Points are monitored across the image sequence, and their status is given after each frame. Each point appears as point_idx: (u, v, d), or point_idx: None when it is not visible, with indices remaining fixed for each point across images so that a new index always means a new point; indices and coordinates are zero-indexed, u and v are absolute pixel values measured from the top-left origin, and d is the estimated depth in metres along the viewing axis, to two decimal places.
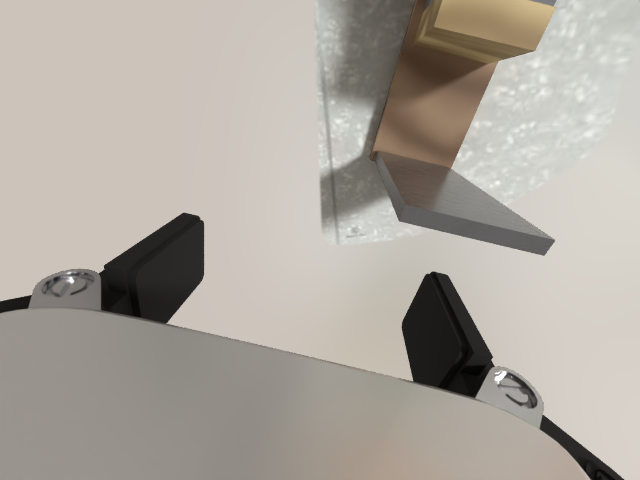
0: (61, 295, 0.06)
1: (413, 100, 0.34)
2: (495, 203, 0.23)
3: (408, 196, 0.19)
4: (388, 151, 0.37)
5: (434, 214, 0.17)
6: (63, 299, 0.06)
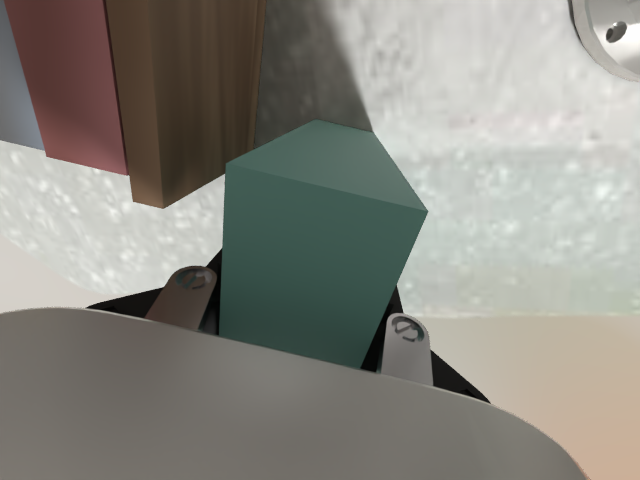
0: (186, 286, 0.07)
1: None
2: None
3: None
4: None
5: None
6: (185, 291, 0.07)
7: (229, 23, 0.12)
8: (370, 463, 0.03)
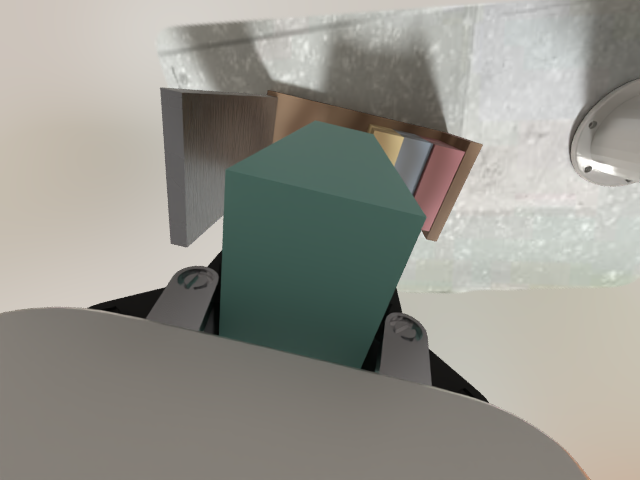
0: (188, 287, 0.07)
1: None
2: None
3: (201, 104, 0.17)
4: (278, 111, 0.35)
5: (180, 130, 0.16)
6: (186, 291, 0.07)
7: None
8: (370, 463, 0.03)
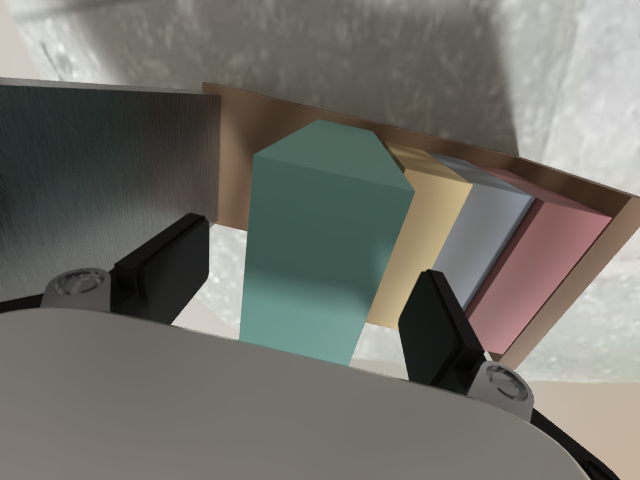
0: (72, 293, 0.06)
1: None
2: None
3: None
4: (224, 119, 0.20)
5: None
6: (74, 297, 0.06)
7: None
8: (370, 463, 0.03)
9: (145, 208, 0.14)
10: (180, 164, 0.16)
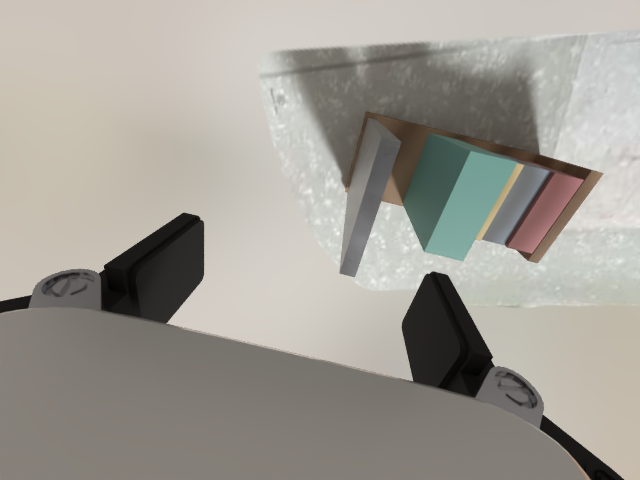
0: (61, 295, 0.06)
1: (418, 151, 0.36)
2: None
3: None
4: None
5: (387, 175, 0.17)
6: (63, 299, 0.06)
7: None
8: (370, 463, 0.03)
9: None
10: None
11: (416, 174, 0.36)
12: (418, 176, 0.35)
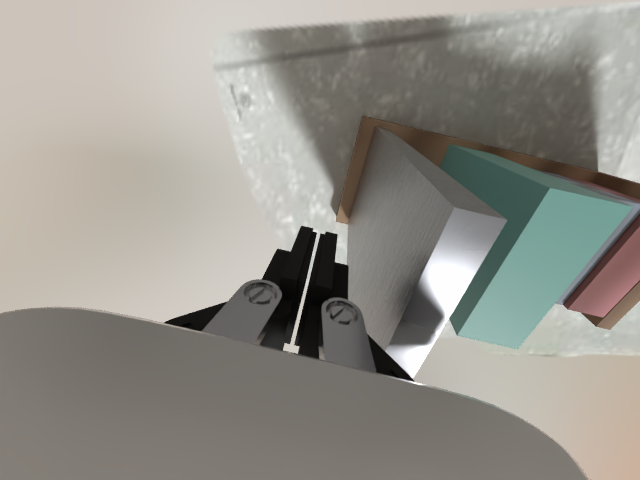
0: (252, 299, 0.07)
1: None
2: None
3: None
4: None
5: (458, 289, 0.07)
6: (249, 304, 0.07)
7: None
8: (370, 463, 0.03)
9: None
10: None
11: None
12: None
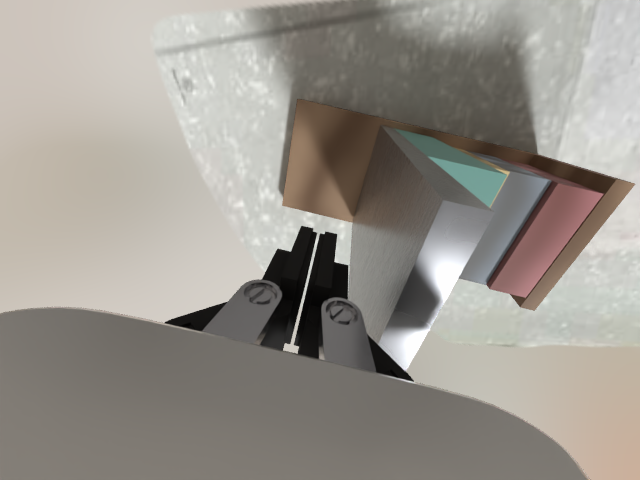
0: (252, 299, 0.07)
1: (371, 152, 0.27)
2: None
3: None
4: (310, 126, 0.26)
5: (449, 281, 0.07)
6: (249, 304, 0.07)
7: None
8: (370, 463, 0.03)
9: None
10: None
11: None
12: None
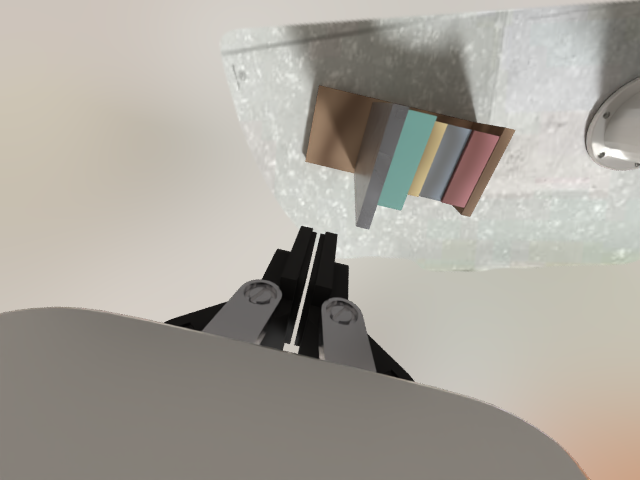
0: (252, 299, 0.07)
1: None
2: None
3: None
4: (326, 103, 0.39)
5: (397, 136, 0.20)
6: (249, 304, 0.07)
7: None
8: (370, 463, 0.03)
9: None
10: None
11: None
12: None
